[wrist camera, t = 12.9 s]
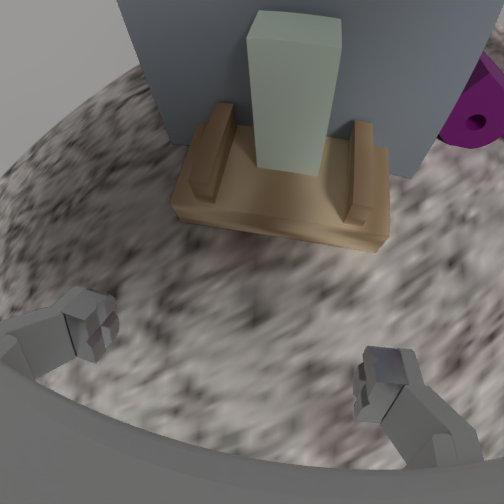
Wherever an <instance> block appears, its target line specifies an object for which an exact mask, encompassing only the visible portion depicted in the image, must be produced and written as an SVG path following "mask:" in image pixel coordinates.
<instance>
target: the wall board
mask: <svg viewBox="0 0 504 504" xmlns="http://www.w3.org/2000/svg"><path fill="white" fill-rule="evenodd" d="M117 3H118V5H119V8H120V11H121V14H122V17H123V19H124V22H125V25H126V27H127V30H128V33H129V35H130V38H131V41H132V43H133V46H134V48H135V51H136V54H137V56H138V59H139V62H140V64H141V67H142V69H143V72H144V75H145V77H146V80H147V82H148V85H149V87H150V90H151V92H152V95H153V97H154V100H155V102H156V105H157V107H158V110H159V112H160V115H161V117H162V120H163V122H164V125H165V127H166V130H167V132H168V134H169V137H170V139H171V142H172V144H180V145H190V144H191V141H192V138H193V136H194V133H195V131H196V128H197V126H198V123H199V122H204V123H208V122H209V120H210V117H211V114H212V112H213V109H214V107H215V104H216V103H230V104H234V111H235V118H236V125H243V126H254V122H253V110H252V98H251V87H250V75H249V63H248V52H247V41H246V38H247V35H248V33H249V31H250V29H251V26H252V24H253V22H254V20H255V17H256V15H257V13H258V11H259V10H263V11H280V12H292V13H302V14H311V15H318V16H325V17H332V18H338V19H341V27H342V52H341V58H340V64H339V70H338V75H337V81H336V87H335V92H334V98H333V103H332V109H331V114H330V119H329V124H328V129H327V135H326V136H327V137H333V138H339V139H344V140H349V139H350V135H351V132H352V128H353V125H354V121H355V120H358V121H363V122H368V123H373V145H374V146H379V147H383V148H388V161H389V174H392V175H397V176H401V177H406V178H410V179H411V178H412V177H413V175H414V173H415V172H416V170H417V169H418V167H419V166H420V164H421V162H422V161H423V159H424V157H425V156H426V154H427V153H428V151H429V149H430V148H431V146H432V144H433V143H434V141H435V139H436V138H437V136H438V134H439V133H440V131H441V129H442V127H443V126H444V124H445V122H446V120H447V119H448V117H449V115H450V113H451V112H452V110H453V108H454V106H455V104H456V103H457V101H458V99H459V97H460V95H461V93H462V91H463V90H464V88H465V86H466V84H467V82H468V80H469V78H470V76H471V74H472V72H473V70H474V68H475V66H476V64H477V62H478V60H479V58H480V56H481V54H482V52H483V50H484V48H485V46H486V43H487V41H488V39H489V37H490V35H491V32H492V30H493V28H494V26H495V23H496V21H497V19H498V16H499V14H500V12H501V9H502V7H503V4H504V0H117Z"/></svg>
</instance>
